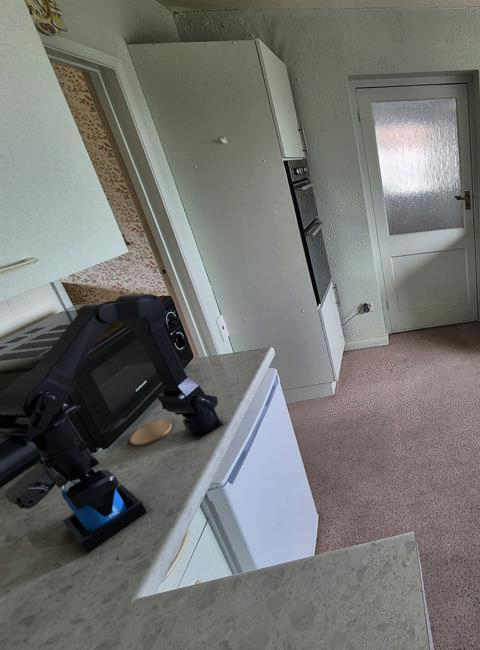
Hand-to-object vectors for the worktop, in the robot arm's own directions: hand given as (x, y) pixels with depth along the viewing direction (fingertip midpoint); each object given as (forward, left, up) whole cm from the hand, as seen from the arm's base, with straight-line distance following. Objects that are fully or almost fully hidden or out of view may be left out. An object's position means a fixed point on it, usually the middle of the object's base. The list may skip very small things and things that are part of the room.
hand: (99, 505), depth 75 cm
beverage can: (0, 0, -5) cm, 5 cm away
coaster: (-17, -23, -5) cm, 29 cm away
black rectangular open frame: (0, 0, -5) cm, 5 cm away
